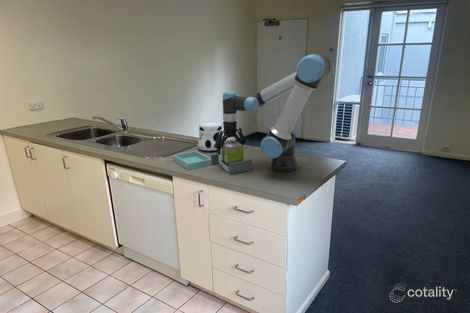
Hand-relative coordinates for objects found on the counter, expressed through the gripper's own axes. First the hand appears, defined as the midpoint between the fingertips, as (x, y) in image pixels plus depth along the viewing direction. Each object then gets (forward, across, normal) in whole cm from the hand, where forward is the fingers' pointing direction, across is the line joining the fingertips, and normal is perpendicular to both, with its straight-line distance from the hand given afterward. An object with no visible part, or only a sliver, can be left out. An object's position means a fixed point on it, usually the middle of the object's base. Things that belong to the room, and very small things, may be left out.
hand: (230, 157), depth 183 cm
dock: (+6, 0, 0) cm, 6 cm away
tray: (+6, +14, -20) cm, 25 cm away
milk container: (+6, -9, -38) cm, 39 cm away
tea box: (+6, 0, 0) cm, 6 cm away
